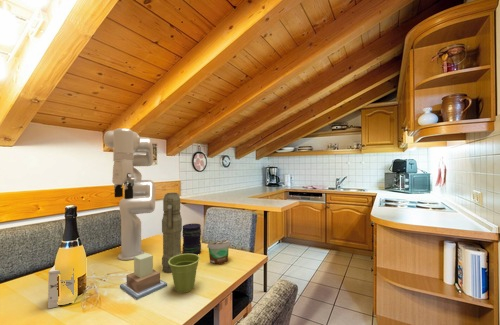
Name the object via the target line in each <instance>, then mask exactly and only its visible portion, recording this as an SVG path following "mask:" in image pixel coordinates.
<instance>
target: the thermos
mask: <svg viewBox="0 0 500 325" xmlns="http://www.w3.org/2000/svg"><path fill="white" fill-rule="evenodd" d="M162 206H163V207H162V208H163V210H162V211H163V216H162V219H161V232H162V242H163V243H162V257H161V265H162V273H165V274H172V270H171V268H170V265H169V263H168V261H169V259H170V258H172V257H174V256H177V255H180V254H183V252H182V231H183V220H182V215H181V198H180V195H179V193H177V192H167V193H165V194H164V197H163V200H162Z"/></svg>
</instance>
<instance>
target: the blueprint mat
mask: <svg viewBox="0 0 500 325" xmlns="http://www.w3.org/2000/svg"><path fill="white" fill-rule="evenodd" d="M166 287H168V283H167V282H165V281H163V280H162V279H160V283H159V284H157V285H155V286H152V287H150V288H148V289H145V290H143V291H141V292H139V293H137V292H136V291H134V290H133V289H131V288H130V287H128V286H127V281H126V282H124V283H122V284H119V288H120V289H121V290H123V291H124V292H125V293H127V294H128V295H129V296H131V297H132V298H133V299H134V300H136V301H137V300H140V299H142V298H144V297H146V296H148V295H150V294H153V293H155V292H158V291H159V290H161V289H163V288H166Z"/></svg>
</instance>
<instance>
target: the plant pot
mask: <svg viewBox="0 0 500 325" xmlns="http://www.w3.org/2000/svg"><path fill="white" fill-rule="evenodd" d="M200 260H201V257H200V255H196V254H183V253H182V254H180V255H177V256H174V257H172V258H170V259H169V261H168V263H169V265H170V268H171V270H172V273H171V275H172V280H173V288H174V290H175V292H178V293H181V294H182V293H183V294H185V293H189V292H190V291H192V290H193V289H194V288H195V283H196V276H197V269H198V265H199V261H200Z"/></svg>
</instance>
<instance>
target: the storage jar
mask: <svg viewBox="0 0 500 325" xmlns="http://www.w3.org/2000/svg"><path fill="white" fill-rule="evenodd" d="M181 234H182V237H183V238H182V241H183V242H182V254H196V255H198V254H199V255H200V254H201V253H202V242H201V235H202V228H201V224H200V223H187V224H186V223H185V224H182V231H181ZM199 255H198V256H199Z"/></svg>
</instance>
